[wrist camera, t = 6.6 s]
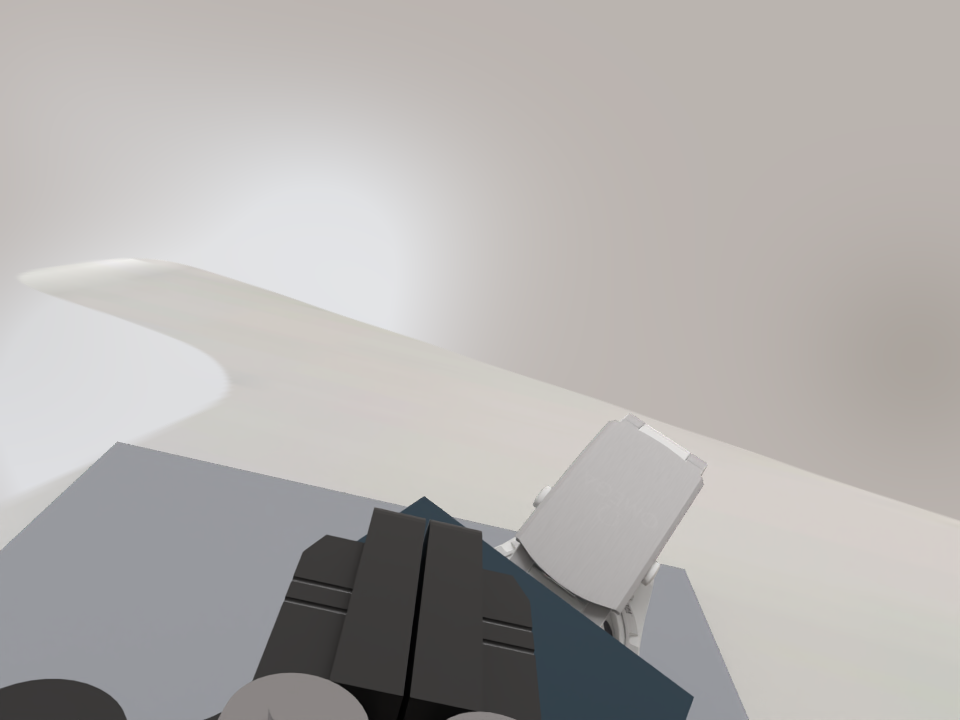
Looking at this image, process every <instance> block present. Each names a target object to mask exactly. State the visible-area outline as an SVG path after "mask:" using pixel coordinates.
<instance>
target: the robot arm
mask: <svg viewBox="0 0 960 720" xmlns="http://www.w3.org/2000/svg"><path fill="white" fill-rule="evenodd" d="M425 525H426V519H425V518H421V517H416V516H412V515H408V514H403V513H399V512H394V511H390V510H385V509H381V508H376V507H374V510H373V514H372V518H371V521H370V525H369V529H368V533H367V537H366V541H365V543H363V542H358V541H354V540H349V539H345V538H340V537H336V536H331V535H327V534H326V535H325V536H324V537H322V538H321V539H320V540H318V541H317V542H315V543H314V544H313V545H311V546H310V547H309V548H307V549H306V550H304V551H303V552H302V555H301V558H300V560H299V563H298V565H297V568H296V570H295V573H294V575H293V579H292V581H291V583H290V586H289V588H288V591H287V593H286V596H285V600H284V601H283V604H282V606H281V609H280V611H279V614H278V616H277V619H276V622H275V624H274V627H273V629H272V632H271V634H270V637H269V639H268V642H267V645H266V647H265V650H264V652H263V655H262V657H261V660H260V662H259V665H258V668H257V670H256V673H255V675H254V678H253V680H252V682H250V683H248V684H246V685H245V686H243V687H242V688H240V689H239V690H238V691H237V692H236V693H235V694H234V695H233V696H232V697H231V698H230V699H229V701H228V702H227V704H226V705H225V707H224V709H223V711H222V712H220V713H218V714H216V715H214V716H212V717H210V718H207V719H204V720H541V710H540V700H539V690H538V679H537V669H536V659H535V655H534V650H535V648H534V638H533V633H532V617H531V607H530V601H529V599H528V598H527V596H526V595H525V593H524V592H523V590H522V589H521V587H520V586H519V584H518V583H517V581H516V580H515V578H514V577H513V575H508V574H504V573H499V572H495V571H490V570H486V569H482V531H480V530H475V529H471V528H466V527H462V526H457V525H453V524H448V523H444V522H439V521H435V520H431V519H430V521H429V523H428V526H427V529H426V533H425V537H424V532H425ZM423 540H424V541H423ZM0 720H127V718H126V716H125V713H124V711H123V709H122V708H121V706H120V705H119V704H118V702H117V701H116V700H115V699H114V698H113V697H111V696H110V695H109V694H108V693H106V692H104V691H103V690H101V689H99V688H97V687H95V686H92V685H90V684H87V683H83V682H79V681H75V680H66V679H39V680H30V681H25V682H21V683H16V684H13V685H10V686H7V687H3V688H0Z"/></svg>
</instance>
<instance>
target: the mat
mask: <svg viewBox="0 0 960 720" xmlns="http://www.w3.org/2000/svg"><path fill="white" fill-rule="evenodd" d="M374 507H376V508H381V509H385V510H390V511H394V512H399V513H400V512H401V511H403V510H404V509H406V508H407V507H405V506H401V505H396V504H392V503H387V502H383V501H379V500H374V499H370V498H365V497H361V496H356V495H352V494H347V493H343V492H339V491H334V490H330V489H325V488H321V487H316V486H312V485H307V484H303V483H298V482H294V481H290V480H285V479H281V478H276V477H272V476H267V475H263V474H258V473H254V472H250V471H245V470H241V469H236V468H232V467H227V466H223V465H218V464H214V463H209V462H205V461H201V460H196V459H192V458H187V457H183V456H178V455H174V454H169V453H165V452H161V451H156V450H152V449H147V448H143V447H138V446H134V445H129V444H125V443H121V442H117V443H116V444H115V445H113V446H112V447H111V448H110V449H109V450H108V451H107V452H106V453H105V454H104V455H103V456H102V457H101V458H100V459H98V460H97V461H96V462H95V463H94V464H93V465H92V466H91V467H90V468H89V469H88V470H87V471H86V472H84V473H83V474H82V475H81V476H80V477H79V478H78V479H77V480H76V481H75V482H74V483H73V484H72V485H71V486H69V487H68V488H67V489H66V490H65V491H64V492H63V493H62V494H61V495H60V496H59V497H58V498H57V499H55V500H54V501H53V502H52V503H51V504H50V505H49V506H48V507H47V508H46V509H45V510H44V511H43V512H41V513H40V514H39V515H38V516H37V517H36V518H35V519H34V520H33V521H32V522H31V523H30V524H29V525H28V526H26V527H25V528H24V529H23V530H22V531H21V532H20V533H19V534H18V535H17V536H16V537H15V538H14V539H12V540H11V541H10V542H9V543H8V544H7V545H6V546H5V547H4V548H3V549H2V550H1V551H0V688H3V687H7V686H10V685H13V684H16V683H21V682H25V681H30V680H39V679H66V680H75V681H79V682H83V683H87V684H90V685H92V686H95V687H97V688H99V689H101V690H103V691H104V692H106V693H108V694H109V695H110V696H111V697H113V698H114V699H115V700H116V701H117V702H118V704H119V705H120V706H121V708H122V709H123V711H124V713H125V716H126V718H127V720H204V719H207V718H210V717H212V716H214V715H216V714H218V713H220V712H222V711H223V709H224V707H225V705H226V704H227V702H228V701H229V699H230V698H231V697H232V696H233V695H234V694H235V693H236V692H237V691H238V690H239V689H240V688H242V687H243V686H245V685H246V684H248V683H250V682H252V680H253V678H254V675H255V673H256V670H257V668H258V665H259V662H260V660H261V657H262V655H263V652H264V650H265V647H266V645H267V642H268V639H269V637H270V634H271V632H272V629H273V627H274V624H275V622H276V619H277V616H278V614H279V611H280V609H281V606H282V604H283V601H284V600H285V596H286V593H287V591H288V588H289V586H290V583H291V581H292V579H293V575H294V573H295V570H296V568H297V565H298V563H299V560H300V558H301V555H302V552H303V551H304V550H306V549H307V548H309V547H310V546H311V545H313V544H314V543H315V542H317V541H318V540H320V539H321V538H322V537H324V536H325V535H326V534H327V535H331V536H336V537H340V538H345V539H349V540H354V541H358V540H359V539H361V538H362V537H364V536H365V535H367V533H368V529H369V525H370V521H371V518H372V514H373V510H374ZM453 518H454V517H453ZM454 519H455V520H457V521H458V522H459V523H461V524H462V525H463V526H465V527H466V528H471V529H475V530H480V531H482V540H484V541H485V542H486V543H488V544H489V545H490V546H492V547H493V548H495V547H497V546H499V545H502V544H503V543H505V542H507V541H509V540H511V539H512V538H514V537H515V535H516V533H517V532H516V531H512V530H508V529H503V528H499V527H494V526H490V525H485V524H481V523H476V522H472V521H468V520H463V519H459V518H454ZM639 656H640V657H641V658H642V659H644V660H645V661H646V662H648V663H649V664H650V665H652V666H653V667H654V668H656V669H657V670H658V671H660V672H661V673H662V674H664V675H665V676H666V677H668V678H669V679H671V680H672V681H673V682H675V683H676V684H677V685H679V686H680V687H681V688H683V689H684V690H685V691H687V692H688V693H689V694H691V695H692V696H693V697H694V699H693V702H692V704H691V707H690V710H689V713H688V716H687V718H686V720H749V718H748V716H747V714H746V711H745V709H744V707H743V704H742V702H741V700H740V697H739V695H738V693H737V690H736V688H735V686H734V683H733V681H732V679H731V676H730V674H729V672H728V669H727V667H726V665H725V662H724V660H723V658H722V655H721V653H720V651H719V648H718V646H717V644H716V641H715V639H714V637H713V634H712V632H711V630H710V627H709V625H708V623H707V620H706V618H705V616H704V613H703V611H702V609H701V606H700V604H699V602H698V599H697V597H696V595H695V592H694V590H693V588H692V585H691V583H690V581H689V578H688V576H687V574H686V571H685V569H681V568H677V567H672V566H668V565H663V564H660V568H659V570H658V572H657V574H656V576H655V577H654V584H653V589H652V593H651V597H650V601H649V605H648V609H647V613H646V617H645V621H644V626H643V631H642V637H641V643H640V650H639Z"/></svg>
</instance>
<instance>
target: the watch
mask: <svg viewBox="0 0 960 720" xmlns="http://www.w3.org/2000/svg"><path fill="white" fill-rule="evenodd" d="M707 465H708V464H707V463H706V462H704V461H703V460H701V459H700V458H698V457H697V456H695V455H694V454H691V452H689V451H688V450H686V449H685V448H683V447H682V446H680V445H679V444H677V443H675V442H674V441H672V440H671V439H669V438H668V437H666V436H665V435H663V434H662V433H660V432H659V431H657V430H656V429H654V428H653V427H651V426H649V425H648V424H645V422H643V421H642V420H640V419H639V418H637V417H635V416H634V415H632V414H627V415H626V416H625V417H624V418H623V419H621V420H620V421H616V420H614V421H609V422H608V423H607V424H606V425H605V426H604V427H603V428H602V429H601V431H600V432H599V433H598V434H597V435H596V436H595V437H594V438H593V440H592V441H591V442H590V443H589V444H588V445H587V446H586V448H585V449H584V450H583V451H582V452H581V453H580V455H579V456H578V457H577V458H576V459H575V461H574V462H573V463H572V464H571V465H570V467H569V468H568V469H567V470H566V471H565V473H564V474H563V475H562V476H561V478H560V479H559V480H558V481H557V482H556V484H555V485H554V486H553V487H552V488H551V487H550V486H546V487H545V488H543V489H542V491H541V492H540V493H539V494H538V496H537V497H536V499H535V501H534V503H533V506H534V507H536V509H535V510H534V511H533V513H532V514H531V515H530V517H529V518H528V519H527V520H526V522H525V523H524V524H523V526H522V527H521V528H520V529H519V531H518V532H517V533H516V535H515V537H514V538H512V539H511V540H509V541H507V542H505V543H503V544H502V545H499V546H497V547H495V548H493V547H492V546H490V545H489V544H488V543H486V542H485V541H484V540H482V569H486V570H490V571H495V572H499V573H504V574H508V575H513V577H514V578H515V580H516V581H517V583H518V584H519V586H520V587H521V589H522V590H523V592H524V593H525V595H526V596H527V598H528V599H529V601H530V607H531V617H532V633H533V638H534V648H535V650H534V655H535V659H536V669H537V679H538V690H539V700H540V710H541V720H686V718H687V716H688V713H689V710H690V707H691V704H692V702H693V699H694V697H693V696H692V695H691V694H689V693H688V692H687V691H685V690H684V689H683V688H681V687H680V686H679V685H677V684H676V683H675V682H673V681H672V680H671V679H669V678H668V677H666V676H665V675H664V674H662V673H661V672H660V671H658V670H657V669H656V668H654V667H653V666H652V665H650V664H649V663H648V662H646V661H645V660H644V659H642V658H641V657H640V656H639V650H640V643H641V637H642V631H643V626H644V621H645V617H646V613H647V609H648V605H649V601H650V597H651V593H652V589H653V584H654V577H655V576H656V574H657V572H658V570H659V568H660V564H659V563H658V562H657V561H655V560H656V558H657V557H658V555H659V554H660V552H661V551H662V549H663V548H664V546H665V544H666V543H667V541H668V540H669V538H670V537H671V535H672V534H673V532H674V531H675V529H676V527H677V526H678V524H679V523H680V521H681V520H682V518H683V516H684V515H685V513H686V512H687V510H688V509H689V507H690V505H691V504H692V502H693V501H694V499H695V498H696V496H697V494H698V493H699V491H700V490H701V488H702V487H703V485H704V484H703V479H702V477H701V476H702V474H703V472H704V470H705V469H706V467H707ZM400 513H403V514H408V515H412V516H416V517H421V518H425V519H426V525H425V532H424V537H425V533H426V529H427V526H428V523H429V521H430V519H431V520H435V521H439V522H444V523H448V524H453V525H457V526H462V527H465V526H463V525H462V524H461V523H459V522H458V521H457V520H455V519H454V518H453V517H451V516H450V515H449V514H447V513H446V512H445V511H443V510H442V509H441V508H439V507H438V506H437V505H435V504H434V503H433V502H431V501H430V500H428V499H427V498H426V497H422V498H421V499H419V500H418V501H416V502H415V503H413V504H412V505H410V506H409V507H407V508H406V509H404V510H403V511H401V512H400ZM366 537H367V535H365V536H364V537H362V538H361V539H359V540H358V542H363V543H365V541H366ZM423 541H424V540H423Z"/></svg>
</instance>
